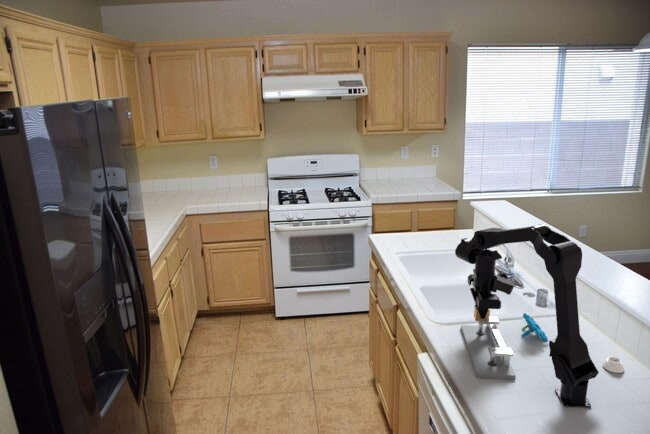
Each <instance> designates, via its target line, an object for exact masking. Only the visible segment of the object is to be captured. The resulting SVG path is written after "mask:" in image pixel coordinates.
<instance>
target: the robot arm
mask: <svg viewBox="0 0 650 434" xmlns="http://www.w3.org/2000/svg"><path fill="white" fill-rule="evenodd" d="M523 242H525V243H526V242H530V243H531V244H532V246H533V248H534V250H535V253H536V254H537V255H538V256H539V257H540V258H541V259H542V260H543V261H544V267H545V270H546V271H547V272H548V274H549V275H550V277H551V278H552V281H553V291H554V292H553V293H554V305H555V307H554V308H555V320H556V330H557V331H556V332H557V335H556V338H554V339H551V340H548V346H549V355H548V356H549V358H550V357H551V363H552V364H553V368H554V369H553V370H554V375H555V378H556V379H558V380H559V381H560V383H561V385H560V387H555V388H554V391H555V393H556V395H557V396H558V399H559V400H560V402H561V404H562V405H563V407H571V408H572V407H575V408H580V407H581V408H592V404H591V402H590V400H589V399H588V398H587V394H588V387H589V380H591V379H595V378H597V376H598V375H599V370H598V369H597V367H596V365H595V363H594V362H593V360H592V358H591V356H590V352H589V348H588V344H587V342H586V341H585V340H584V339H583V337H582V336H581V331H580V317H579V306H578V294H577V293H578V292H577V291H578V290H577V277H578V275H579V273H580V270H581V268H582V261H583V251H582V248H581V247H580V246H579V245H578V244H577V243H575V242H573V241H572V240H570V238H568V237H567V236H565V235H563V234H561V233H559V232H557V231H555V230H552V229H551V228H550V227H549V226H548V225H545V224H544V223H543V224H542V223H540V224H536V225H532V226H526V227H525V226H524V227H518V228H510V229H503V228H501V227H490V228H489V227H488V228H485V229H479V230H475V232H473V236H472V238H471V239H469V238H467V237H464V238H462V239H460V243H458V244H457V246H456V248H455V251H454V253H455V256H456V257H457V258H458V259H460V260H463V261H464V262H467V263H468V264H471V265H474V268H473V269H472V270H473V271H472V272H473V273H470V274H469V275H468V276H467V284H468V286H472V287H470V288H469V290H470V293H471V295H472V299H473V302H474V303H475V304H474V305H477V308H478V311H479V314H480V317H481V319H484V318H485V317H486V314H487V312H488V310H489V309H490V310H501V308H502V301H501V300H500V299H501V298H500V297H499V296H498V295H497V294H495V293H497V292H499V291H500V292H501V293H504V294H506V295H509V296H510V295H511V294H512V291H513V290H514V288H515V284H514V282H513V281H512V280H511V279H510V278H508V274H507V273H506V272H504V271H500V272H499V273H497V274H496V262H497V260H501V259H503V256H502V255H501V254H500V253H499V252H498V249H495V250H491V249H492V248H493V249H494V248H496V247H500V246H502V245H506V244H516V243H523ZM545 242H546V243H545ZM547 243H548V244H550V245H548V244H547Z"/></svg>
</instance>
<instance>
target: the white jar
mask: <svg viewBox="0 0 650 434" xmlns="http://www.w3.org/2000/svg"><path fill="white" fill-rule="evenodd" d="M602 366H603V369H606V370H607V371H609V372H610V373H614V374H615V373H616V374H617V373H618V374H620V373H623V372H625V367H624V364H623V363H622V360H621V358H619V357H617V356H613V355H609V356H608V357H607V358H606V359H605V360H604V361H603V362H602Z"/></svg>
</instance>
